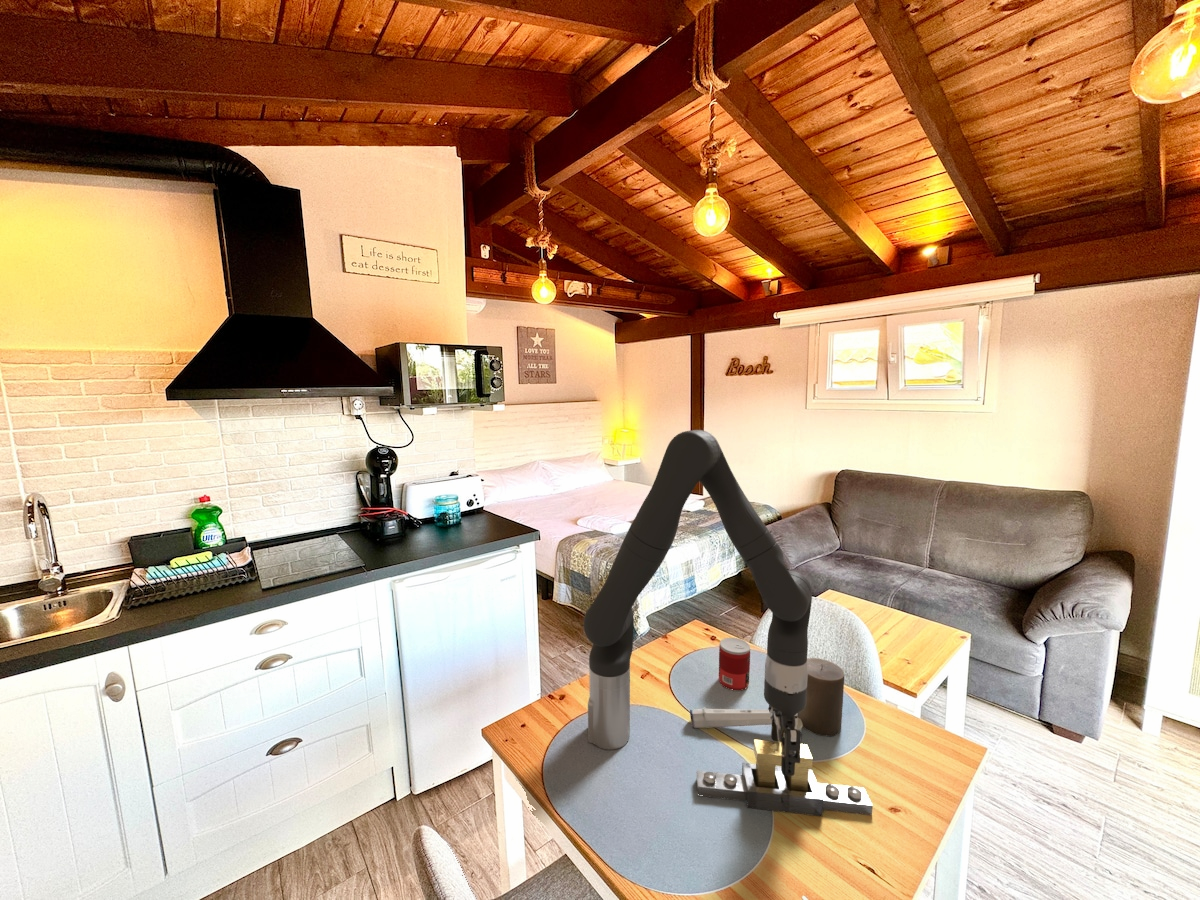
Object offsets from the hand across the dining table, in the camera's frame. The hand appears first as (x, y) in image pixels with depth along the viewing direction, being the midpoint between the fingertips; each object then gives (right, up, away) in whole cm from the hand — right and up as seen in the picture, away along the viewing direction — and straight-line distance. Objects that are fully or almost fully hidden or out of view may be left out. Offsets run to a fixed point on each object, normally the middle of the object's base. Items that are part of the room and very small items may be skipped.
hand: (782, 756), depth 91 cm
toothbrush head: (-1, -7, +19) cm, 21 cm away
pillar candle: (+17, -6, +22) cm, 28 cm away
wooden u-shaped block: (0, -9, +1) cm, 9 cm away
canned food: (+1, -4, +37) cm, 37 cm away
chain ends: (0, -9, +1) cm, 9 cm away
